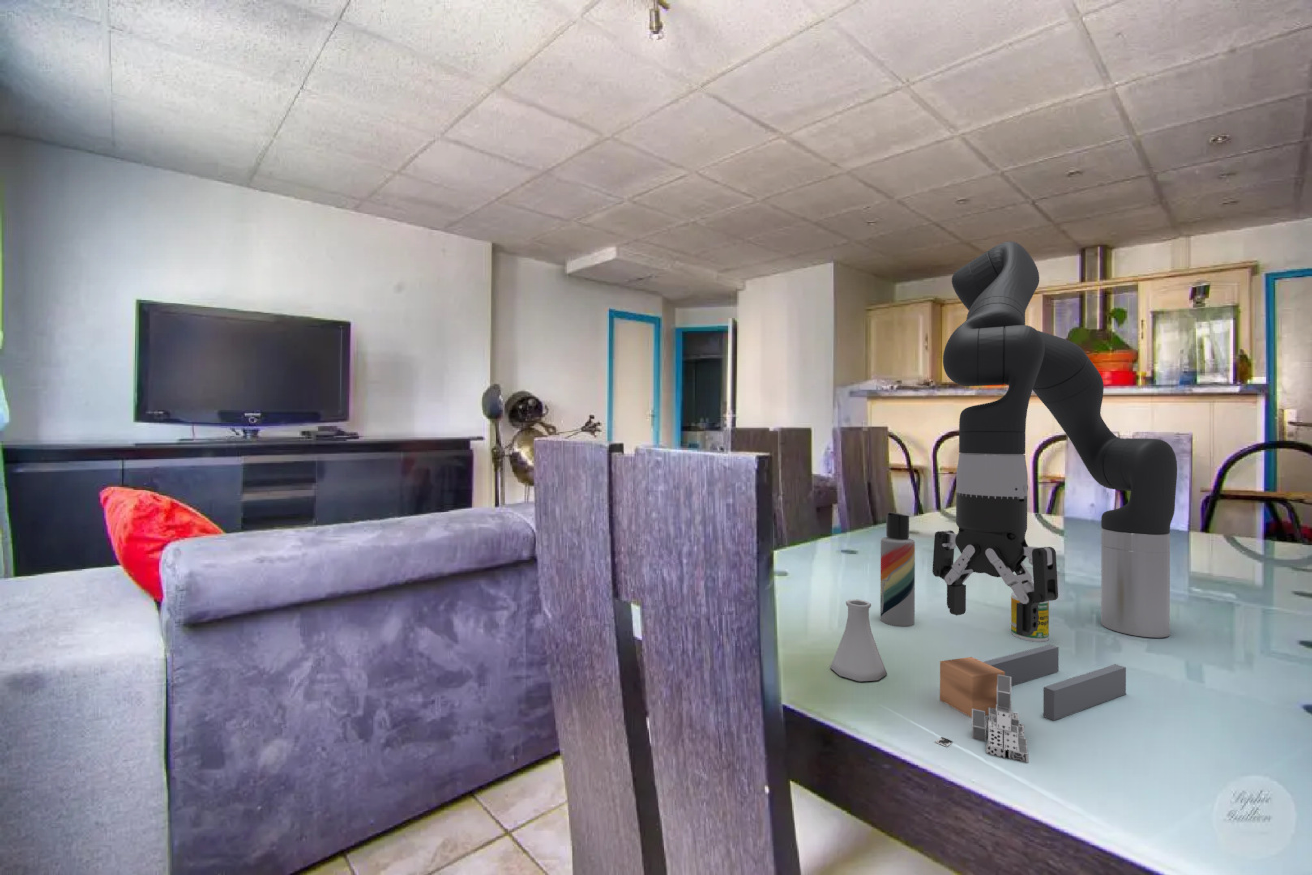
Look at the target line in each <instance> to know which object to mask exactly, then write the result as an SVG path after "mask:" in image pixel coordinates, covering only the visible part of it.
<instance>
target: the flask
mask: <svg viewBox="0 0 1312 875" xmlns="http://www.w3.org/2000/svg"><path fill="white" fill-rule="evenodd" d="M845 605H846V606H847V619H846V624H845V628H844V631H843V634H842V637H841V639H840V642H839V643H838V647H837V649H836V651H835V654H834V656H833V659H832V662H831V664H830V666H829V668H830V669H831V670H833V671H834V672H835V673H836V674H837V675H839V677H844V678H846V679H849V680H853V681H856V682H869V681H870V682H871V681H880V680H881V679H882V678H883V677H885V676H887V675H888V672H887V670H886V667H885V664H884V662H883V659H882V656H881V654H880V652H879V649H878V647H877V646H878V645H877V643H876V640H875V637H874V634H873V632H872V627H871V623H870V612H869V610H870V608H871V607H872V603H871V602H869V601H867V600H862V599H848V600H846V601H845Z"/></svg>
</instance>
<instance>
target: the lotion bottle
mask: <svg viewBox="0 0 1312 875" xmlns="http://www.w3.org/2000/svg"><path fill="white" fill-rule="evenodd" d="M885 517H886V519H885V520H886V526H885V527H886V534H885V535H886V536H884V537H881V538H880V592H879V593H880V594H879V595H880V597H879V598H880V600H879V601H880V602H879V603H880V606H879V607H880V609H879V610H880V613H879V614H880V622H882V623H884V624H886V625H889V626H892V627H901V628H908V627H909V628H910V627H912V626H914V625H915V617H916V616H915V615H916V614H915V609H916V608H915V607H916V606H915V604H916V602H915V601H916V600H915V598H916V597H915V596H916V594H915V593H916V589H915V588H916V585H915V583H916V576H915V575H916V543H915V540H914V539H913V538H910V515H906V514H902V513H898V512H891V511H888V512H887V514H886V516H885Z"/></svg>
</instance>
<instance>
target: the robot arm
mask: <svg viewBox="0 0 1312 875" xmlns="http://www.w3.org/2000/svg"><path fill="white" fill-rule="evenodd" d="M1039 283H1040V273H1039V269H1038V266H1037V264H1036V263H1035V261H1034V259H1033V257H1032V256H1031V254H1030V253H1029V252H1028V251H1027V250H1026V248H1024V247H1023V246H1022V245H1021V244H1019V243H1018V242H1016V241H1012V240H1011V241H1004V242H1001V243H1000V244H997V245H995V246H993V247H992V248H990V249H988V250H987V251H985V252H984V253H982V254H981V255H979V256H978V257H976V258H974V259H973V260H971V261H970V262H968V263H966V264H965V265H963V266H961V267H960V268H959V269H957V270H956V271H955V272H954V273H953V274H952V277H951V284H952V288H953V290H954V292H955V294H956V296H957V298H958V299H959V300H960V302H961V303H962V304H963V306H964V307H965V308H966V309H967V310H968V312H967V316H966V320H965V321H964V322H963V323H961V324H960V325H959V326H958V327H956V329H955V330H954V331H953V332H952V333H951V335H950V336H949V338H948V339H947V342H946V344H945V346H944V350H943V355H942V366H943V369H944V372H945V375H946V376H947V377H948V378H949V380H951V382H953V383H955V384H957V385H959V386H964V387H972V386H973V387H974V386H976V387H978V386H1003V385H1005V386H1006V385H1007V386H1008V387H1007V388H1008V389H1007V391H1006V393H1005V394H1004V395H1003V396H1002V397H1000V398H999V399H997V400H994V401H991V402H986V403H981V404H976V405H971V406H968V407H965V408H964V409H963V410H962V411H961V412H960V415H959V422H958V427H959V428H958V429H959V430H958V431H959V432H958V435H959V436H958V460H957V466H956V478H955V479H956V483H955V484H956V493H955V496H956V499H955V500H956V502H955V504H956V505H955V523H956V526H957V527H958V532H957V533H955V531H953V530H941V531H940V530H939V531H936V532H935V533H934V541H933V542H934V543H933V555H932V556H933V558H932V571H931V572H932V574H933V576H935V577H938V578H940V579H942V580H943V581H944V583H945V584H946V605H947V606H946V607H947V609H948V610H949V613H950V615H955V616H961V615H964V614H966V610H967V585H966V584H964V583H965V582H966V581H967V579H968V578H969V577H970V576H971V575H972V574H973V573H976V574H986V575H988V576H990V577H995V578H1001V579H1002V581H1003V582H1004V583H1005V585H1006V586H1007V587H1009V588H1010V589H1011V590H1012V592H1014V593H1015V595H1016V596H1017V598H1018V600H1019V601H1020V602H1019V603H1017V611H1016V632H1017V634H1018V635H1021V636H1029V635H1032V634H1033V632H1034V631H1037V628H1038V606H1039V603H1042V602H1046V601H1049V602H1050V601H1056V600H1057V599H1058V598H1059V585H1058V570H1057V569H1058V568H1057V567H1058V566H1057V552H1056V549H1055V547H1052V546H1041V547H1037V546H1029V545H1028V543H1027V541H1026V532H1027V531H1028V491H1029V486H1028V484H1029V482H1028V479H1029V478H1028V476H1029V475H1028V467H1027V461H1026V432H1027V431H1026V428H1027V427H1026V426H1027V425H1026V424H1027V416H1028V407H1029V404H1030V400H1031V396H1032V392H1033V393H1035V395H1036V396H1037V398H1038V399H1039V400H1040V401H1041V402H1042V404H1043V405H1044V406H1045V407H1046V408H1047V410H1048V411H1049V412H1050V414H1051V415H1052V416H1053V418H1054V419H1055V420H1056V422H1057V423H1058V424H1059V426H1060V427H1061V429H1062V430H1063V432H1064V433H1065V435H1066V436H1067V437H1068V438H1069V440H1070V442H1071V444H1072V445H1073V447H1074V450H1076V452H1077V454H1078V455H1079V458H1080V459H1081V461H1082V463H1083V465H1084V466H1085V467H1086V470H1087V471H1088V473H1089V474H1090V476H1091V477H1092V478H1093V480H1094V481H1096V483H1098V484H1099V485H1101V486H1102V487H1104V488H1107V489H1110V490H1117V491H1125V492H1128V491H1129V492H1130V494H1129V498H1128V499H1129V500H1128V502H1127V503H1126V504H1125V505H1123V506H1121V507H1119V508H1116V509H1115V508H1114V509H1111V510H1110V509H1109V510H1106V511H1104V512H1103V513H1102V514H1101V518H1100V520H1101V521H1100V523H1101V524H1100V527H1101V528H1100V531H1101V532H1100V533H1101V534H1100V535H1101V536H1100V538H1101V539H1100V540H1101V541H1100V544H1101V545H1100V546H1101V547H1100V548H1101V550H1100V552H1101V554H1100V555H1101V559H1100V560H1101V561H1100V563H1101V564H1100V565H1101V566H1100V569H1101V570H1100V575H1101V577H1100V578H1101V579H1100V589H1101V590H1100V592H1101V593H1100V595H1101V596H1100V598H1101V599H1100V600H1101V601H1100V621H1101V622H1100V624H1101V625H1102V626H1103V627H1104V628H1106V629H1109V630H1111V631H1114V632H1118V633H1121V634H1125V635H1130V636H1136V637H1144V638H1154V639H1155V638H1158V639H1159V638H1167V637H1169V636H1171V635H1170V630H1171V629H1170V628H1171V627H1170V626H1171V625H1170V619H1171V616H1170V615H1171V612H1170V611H1171V534H1170V533H1171V523H1172V521H1173V518H1174V514H1175V511H1176V510H1175V509H1176V493H1177V492H1176V491H1177V483H1178V482H1177V479H1178V477H1177V476H1178V461H1177V457H1176V453H1175V450H1174V449H1173V447H1172V445H1170V444H1169V443H1168V442H1166V441H1165V440H1163V439H1161V438H1160V439H1159V438H1120V437H1118V436H1117V435H1115V434H1114V432H1113V431H1112V430H1111V429H1110V428H1109V426H1107V424H1106V422H1105V421H1104V419H1103V418H1102V414H1101V412H1102V411H1101V409H1102V403H1103V398H1104V388H1105V387H1104V380H1103V377H1102V375H1101V373H1100V371H1099V370H1098V369H1097V368H1096V365H1095V364H1094V363H1093V361H1092V360H1091V359H1090V358H1089V356H1088V355H1087V354H1086V352H1085V351H1084V350H1083V348H1081V347H1080V346H1079V345H1077V344H1076V343H1075V342H1072V341H1070V340H1068V339H1065V338H1062V337H1059V336H1057V335H1053V334H1051V333H1047V332H1044V331H1040V330H1037V329H1036V328H1034V327H1032V326H1030V325H1026V310H1027V308H1028V306H1029V304H1030V303H1031V300H1032V298H1033V296H1034V294H1035V292H1036V291H1037V288H1038V286H1039ZM956 548H957V549H958V550H959V552H960V555H959V556H958V557H957V559H956V560H955V561H954V558H955V549H956ZM1026 558H1027V559H1028V563H1029V564H1030V565H1031V566H1032V574H1031V573H1030V572H1029V570H1028V569H1027V567H1026V566H1025V564H1024V563H1023V562H1024V561H1025V559H1026ZM1032 579H1033V582H1034V584H1033V582H1032Z"/></svg>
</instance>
